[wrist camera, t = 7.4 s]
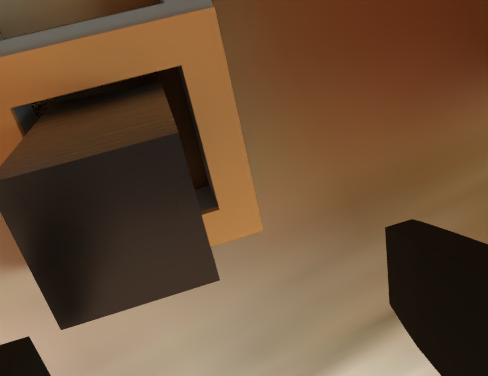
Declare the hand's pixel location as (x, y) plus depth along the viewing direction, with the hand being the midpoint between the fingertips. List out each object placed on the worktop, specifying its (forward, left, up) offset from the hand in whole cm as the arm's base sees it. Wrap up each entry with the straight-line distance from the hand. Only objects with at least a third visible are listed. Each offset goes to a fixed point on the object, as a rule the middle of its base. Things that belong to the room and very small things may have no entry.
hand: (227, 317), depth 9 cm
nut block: (+2, -2, -9) cm, 10 cm away
